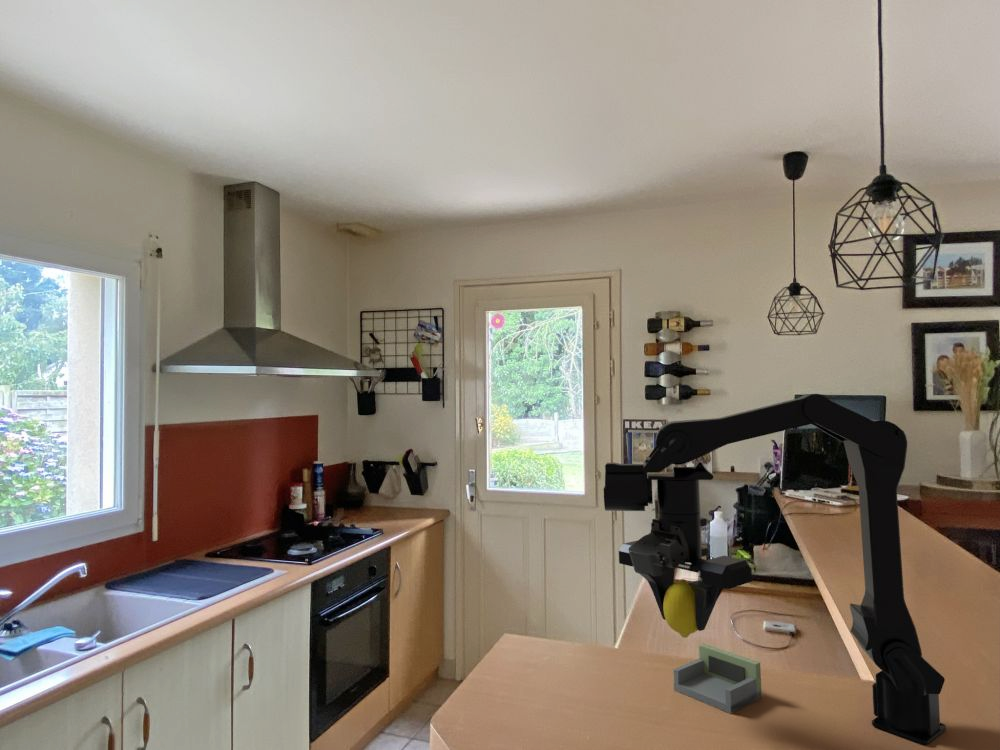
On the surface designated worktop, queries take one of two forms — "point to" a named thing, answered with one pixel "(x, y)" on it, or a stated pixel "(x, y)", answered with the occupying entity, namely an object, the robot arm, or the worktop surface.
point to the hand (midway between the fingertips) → (683, 624)
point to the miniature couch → (720, 679)
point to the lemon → (680, 608)
